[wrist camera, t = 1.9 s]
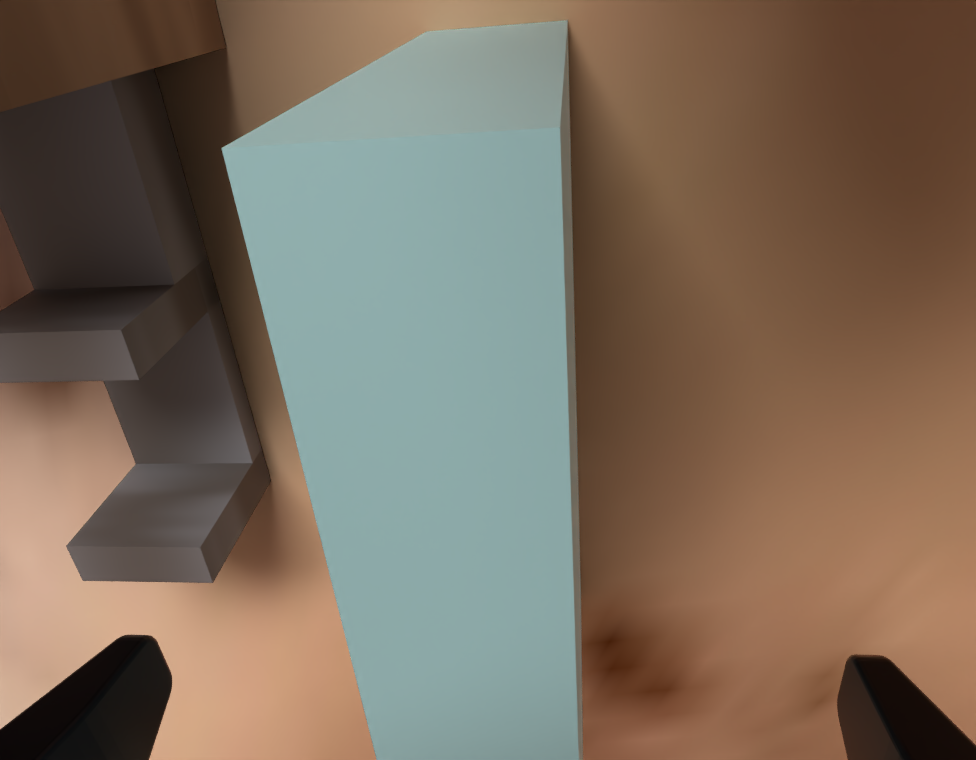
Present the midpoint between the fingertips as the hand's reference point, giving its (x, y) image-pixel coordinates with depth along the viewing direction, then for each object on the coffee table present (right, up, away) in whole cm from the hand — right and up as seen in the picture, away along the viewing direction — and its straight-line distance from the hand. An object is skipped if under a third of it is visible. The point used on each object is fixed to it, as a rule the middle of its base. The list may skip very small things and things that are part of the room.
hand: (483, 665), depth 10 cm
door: (+1, +4, +7) cm, 8 cm away
